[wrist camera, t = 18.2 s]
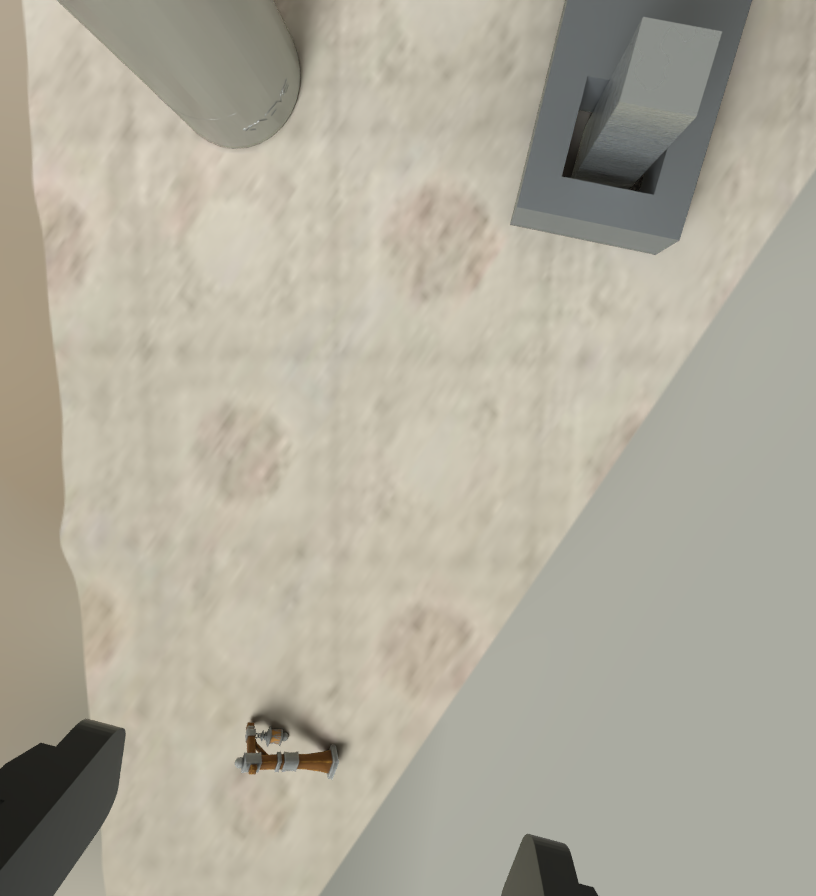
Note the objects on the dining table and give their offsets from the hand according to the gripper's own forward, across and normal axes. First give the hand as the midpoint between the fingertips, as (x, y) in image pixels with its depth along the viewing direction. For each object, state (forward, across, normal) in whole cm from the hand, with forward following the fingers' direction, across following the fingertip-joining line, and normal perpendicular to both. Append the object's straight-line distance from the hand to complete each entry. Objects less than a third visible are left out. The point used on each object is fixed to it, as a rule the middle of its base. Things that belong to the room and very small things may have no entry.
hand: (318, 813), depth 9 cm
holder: (+29, +7, +28) cm, 41 cm away
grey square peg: (+29, +8, +23) cm, 38 cm away
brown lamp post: (+27, -3, -26) cm, 37 cm away
